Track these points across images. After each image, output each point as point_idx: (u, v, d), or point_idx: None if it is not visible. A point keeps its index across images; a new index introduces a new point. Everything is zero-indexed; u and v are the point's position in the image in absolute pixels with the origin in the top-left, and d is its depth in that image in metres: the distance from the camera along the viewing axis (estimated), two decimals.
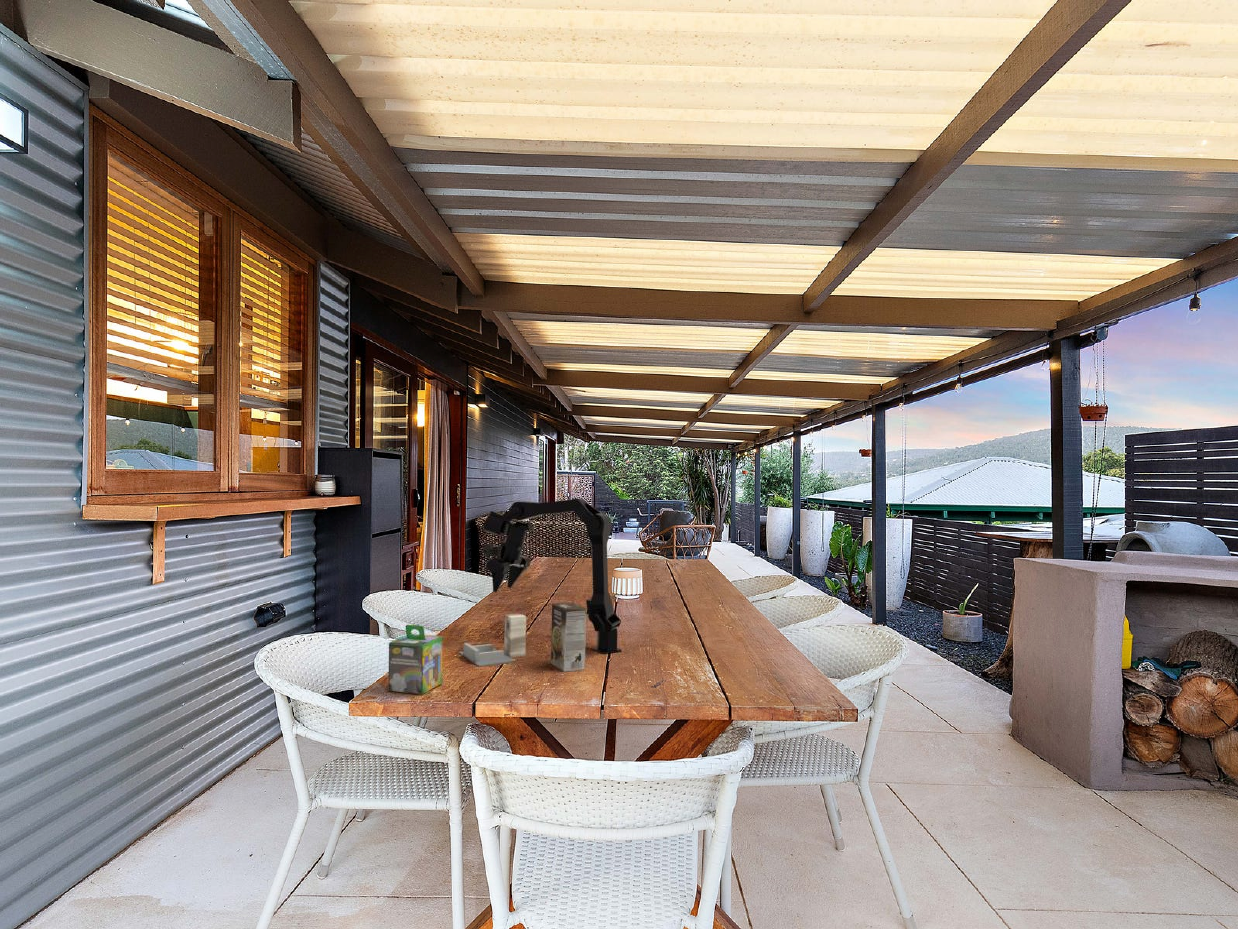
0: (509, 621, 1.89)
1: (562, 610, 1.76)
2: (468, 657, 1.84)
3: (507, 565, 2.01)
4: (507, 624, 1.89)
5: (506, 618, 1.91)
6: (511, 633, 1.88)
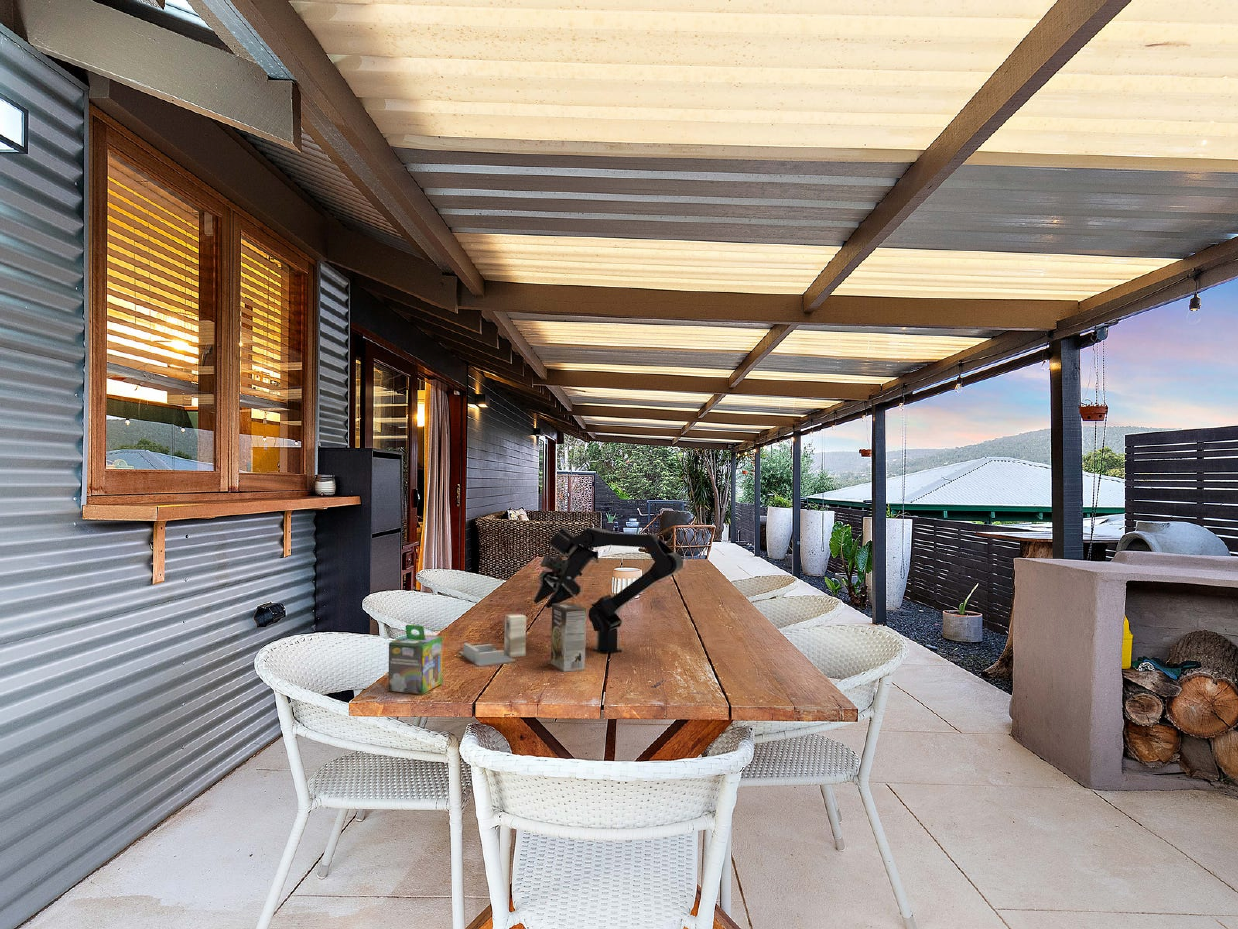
0: (509, 621, 1.89)
1: (562, 610, 1.76)
2: (468, 657, 1.84)
3: None
4: (507, 624, 1.89)
5: (506, 618, 1.91)
6: (511, 633, 1.88)
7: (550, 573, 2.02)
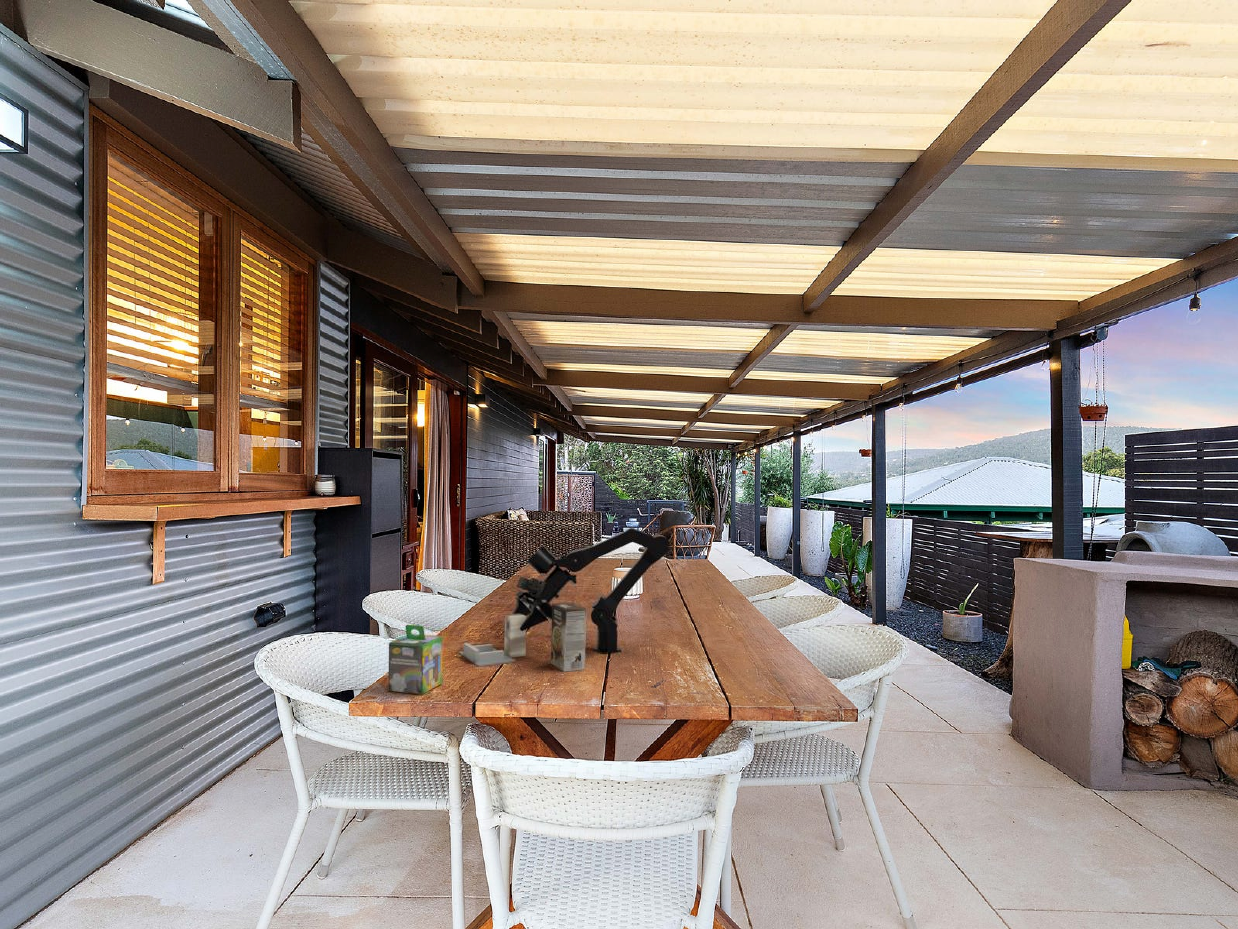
0: (509, 621, 1.89)
1: (562, 610, 1.76)
2: (468, 657, 1.84)
3: None
4: (507, 624, 1.89)
5: (506, 618, 1.91)
6: (511, 633, 1.88)
7: (526, 594, 1.98)
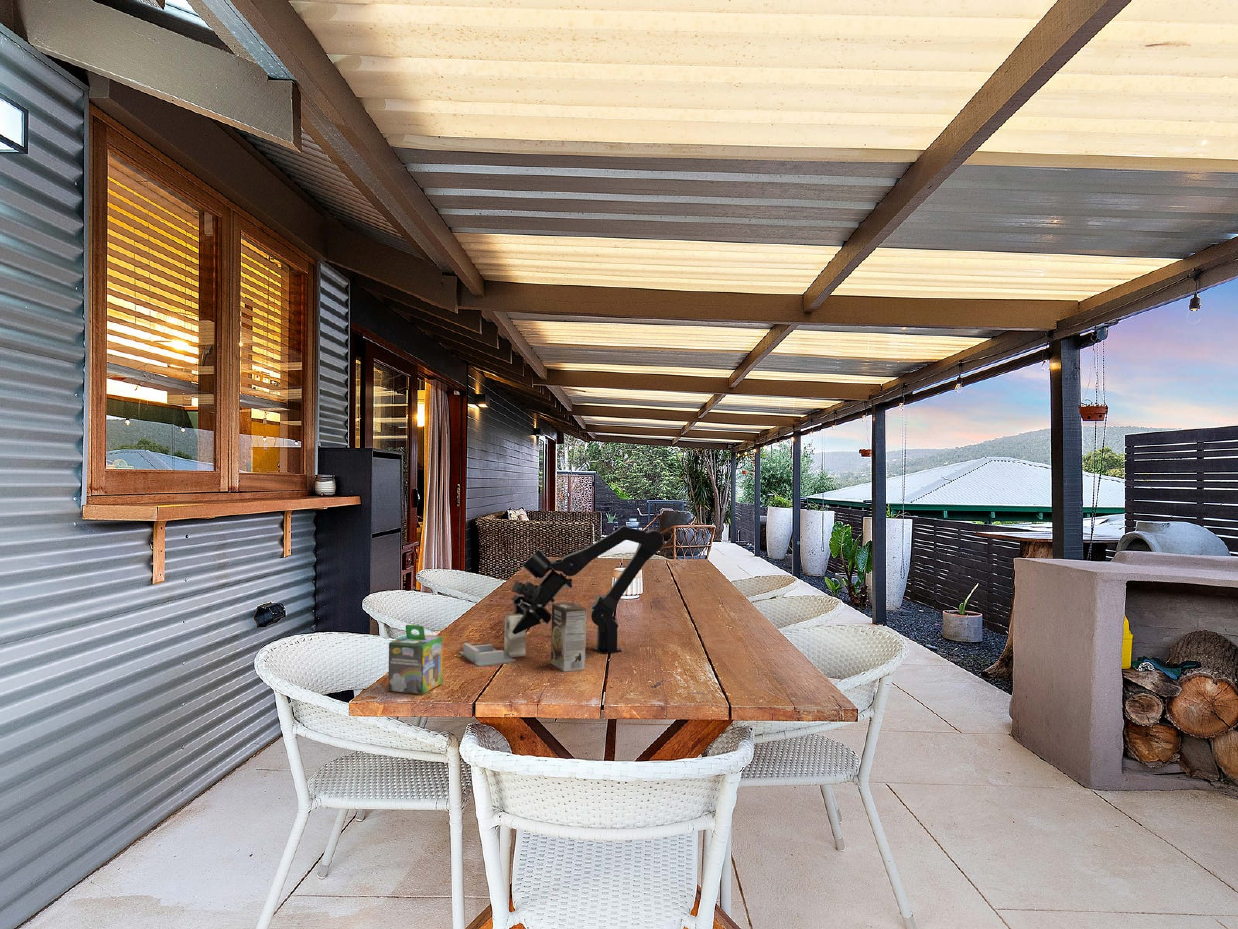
0: (509, 621, 1.89)
1: (562, 610, 1.76)
2: (468, 657, 1.84)
3: None
4: (507, 624, 1.89)
5: (506, 618, 1.91)
6: (511, 633, 1.88)
7: (522, 598, 1.98)
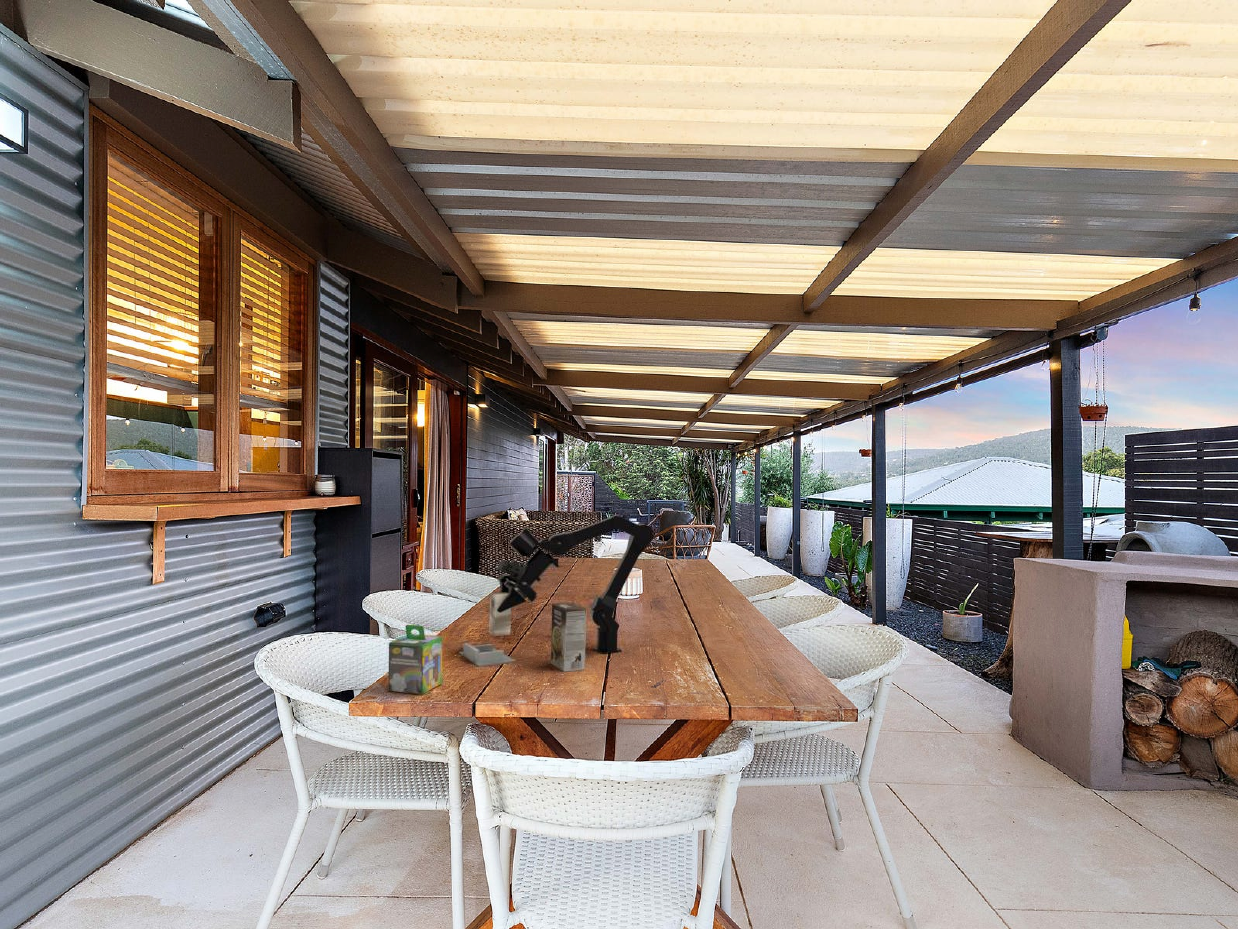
0: (494, 599, 1.87)
1: (562, 610, 1.76)
2: (468, 657, 1.84)
3: None
4: (492, 602, 1.88)
5: (491, 596, 1.89)
6: (496, 611, 1.86)
7: (508, 577, 1.96)
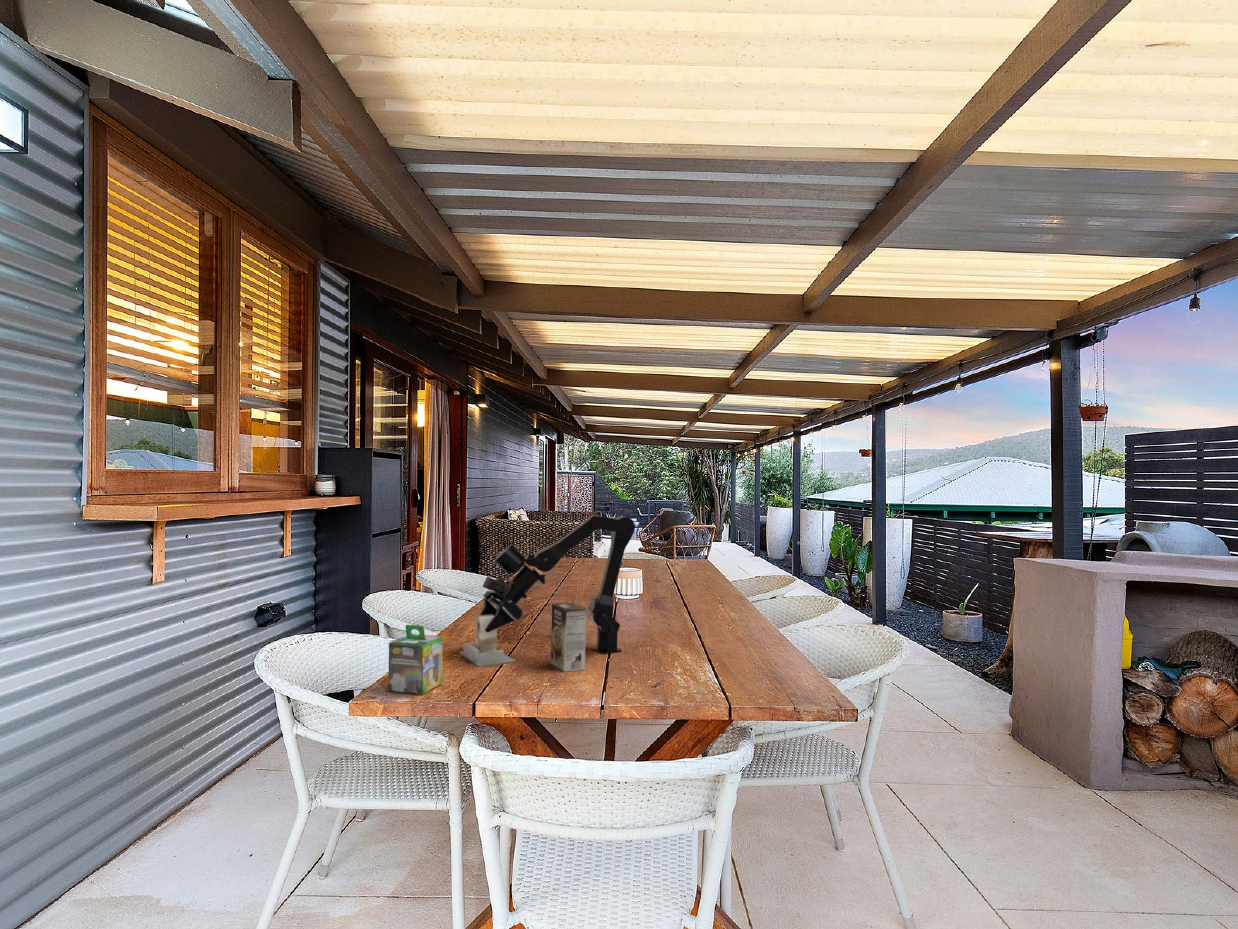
0: (479, 622, 1.85)
1: (562, 610, 1.76)
2: (468, 657, 1.84)
3: None
4: (478, 625, 1.85)
5: (477, 619, 1.87)
6: (481, 634, 1.84)
7: (494, 594, 1.94)
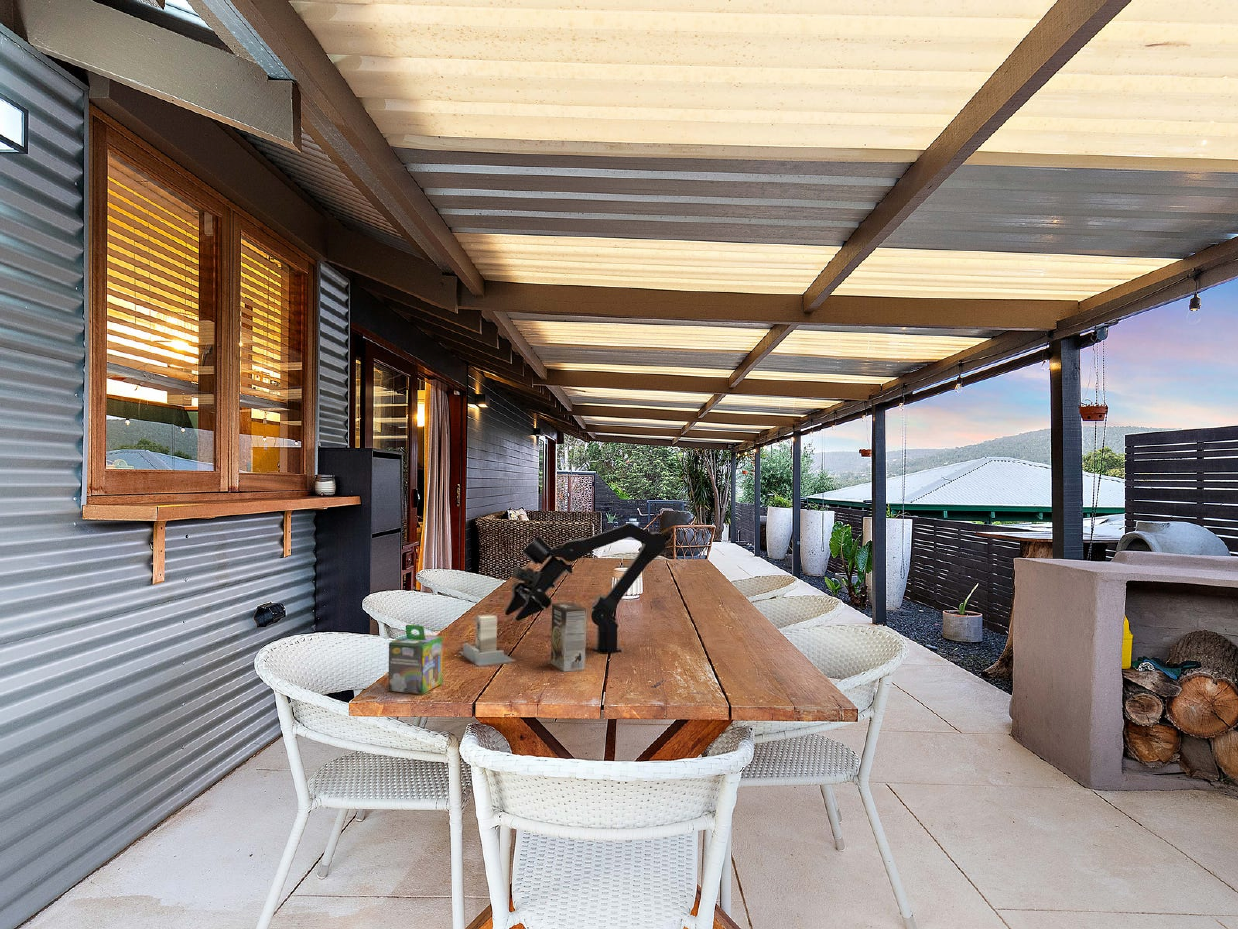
0: (479, 622, 1.85)
1: (562, 610, 1.76)
2: (468, 657, 1.84)
3: None
4: (478, 625, 1.85)
5: (477, 619, 1.87)
6: (481, 634, 1.84)
7: (522, 584, 1.98)
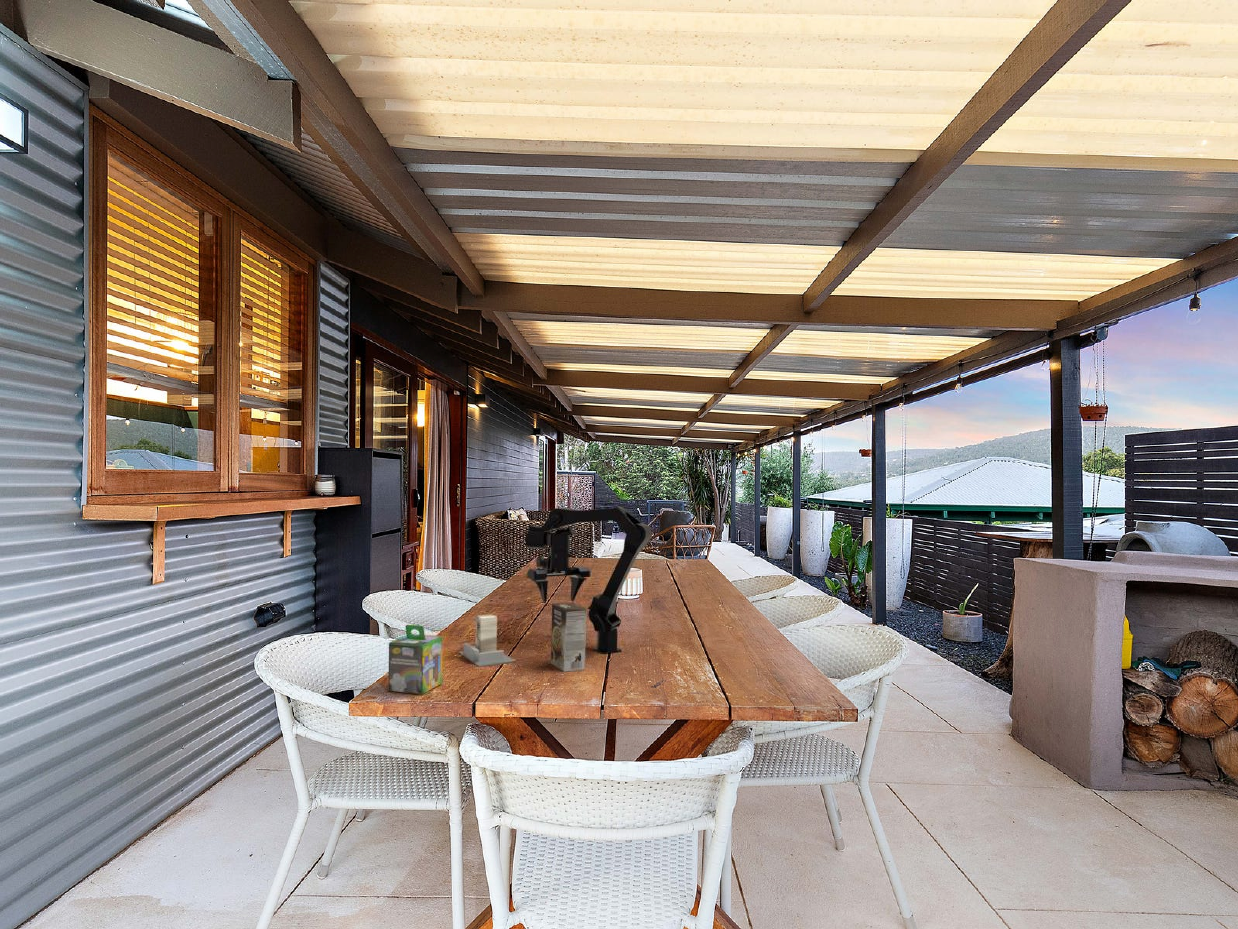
0: (479, 622, 1.85)
1: (562, 610, 1.76)
2: (468, 657, 1.84)
3: (543, 572, 1.97)
4: (478, 625, 1.85)
5: (477, 619, 1.87)
6: (481, 634, 1.84)
7: (572, 568, 2.07)
